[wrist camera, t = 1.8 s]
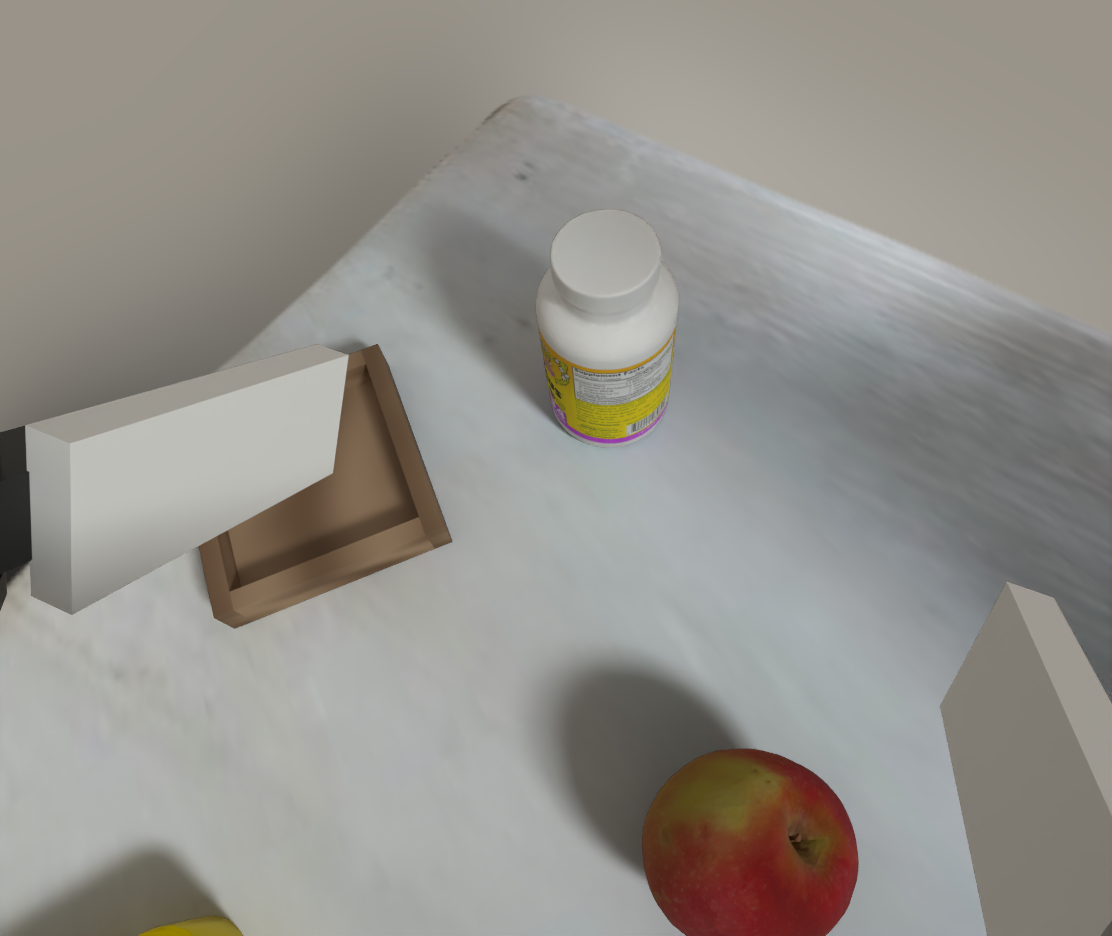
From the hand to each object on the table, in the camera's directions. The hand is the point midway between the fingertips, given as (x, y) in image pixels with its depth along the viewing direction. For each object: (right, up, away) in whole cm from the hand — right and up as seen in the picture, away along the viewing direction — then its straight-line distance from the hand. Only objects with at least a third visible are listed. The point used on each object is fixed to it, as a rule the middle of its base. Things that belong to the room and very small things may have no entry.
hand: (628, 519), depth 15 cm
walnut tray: (-15, 0, +28) cm, 32 cm away
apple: (+6, -16, +20) cm, 26 cm away
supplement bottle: (+2, +5, +30) cm, 30 cm away
